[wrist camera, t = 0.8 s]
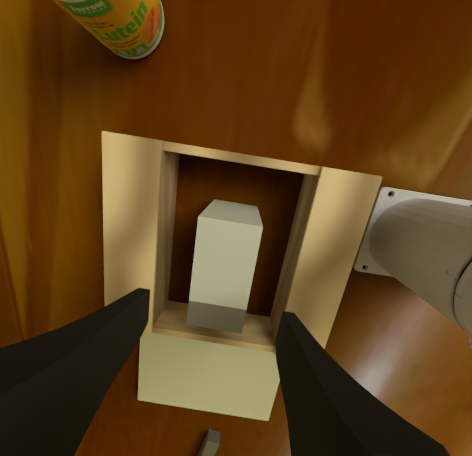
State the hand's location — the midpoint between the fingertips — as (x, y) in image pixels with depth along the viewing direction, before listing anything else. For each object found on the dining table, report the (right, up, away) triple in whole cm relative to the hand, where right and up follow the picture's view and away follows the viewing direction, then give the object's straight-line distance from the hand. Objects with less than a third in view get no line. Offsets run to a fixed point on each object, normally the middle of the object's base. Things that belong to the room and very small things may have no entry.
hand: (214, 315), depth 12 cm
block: (+1, +3, +9) cm, 10 cm away
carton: (+1, +3, +9) cm, 10 cm away
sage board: (-2, -11, +14) cm, 18 cm away
